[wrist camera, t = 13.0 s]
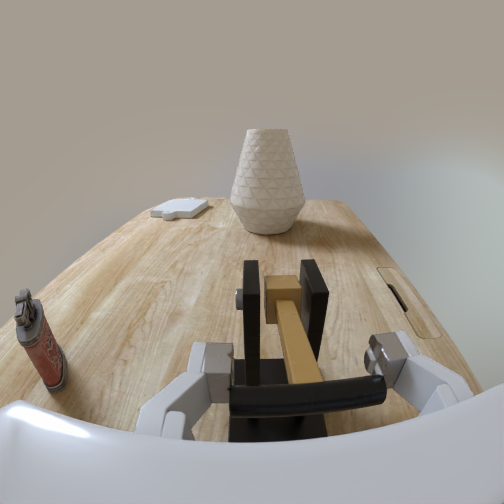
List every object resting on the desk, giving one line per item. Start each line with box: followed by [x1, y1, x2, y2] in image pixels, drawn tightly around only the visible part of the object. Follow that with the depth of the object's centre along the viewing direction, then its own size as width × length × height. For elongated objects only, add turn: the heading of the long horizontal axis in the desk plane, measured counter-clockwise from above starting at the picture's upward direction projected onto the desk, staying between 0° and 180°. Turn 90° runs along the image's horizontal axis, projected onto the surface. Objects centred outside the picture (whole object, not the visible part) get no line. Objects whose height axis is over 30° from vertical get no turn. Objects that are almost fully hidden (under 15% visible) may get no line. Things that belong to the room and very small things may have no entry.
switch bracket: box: [228, 259, 329, 443], centre depth 21 cm, size 10×8×14 cm
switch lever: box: [229, 275, 387, 418], centre depth 14 cm, size 12×6×2 cm, turn 0°
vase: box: [230, 129, 305, 235], centre depth 63 cm, size 17×17×23 cm
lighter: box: [14, 288, 67, 393], centre depth 23 cm, size 8×3×10 cm, turn 35°
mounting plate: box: [150, 198, 208, 220], centre depth 82 cm, size 18×13×2 cm
